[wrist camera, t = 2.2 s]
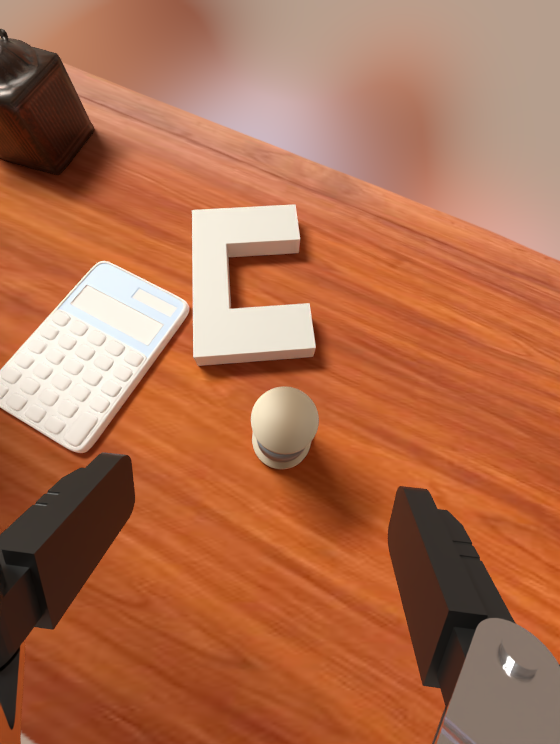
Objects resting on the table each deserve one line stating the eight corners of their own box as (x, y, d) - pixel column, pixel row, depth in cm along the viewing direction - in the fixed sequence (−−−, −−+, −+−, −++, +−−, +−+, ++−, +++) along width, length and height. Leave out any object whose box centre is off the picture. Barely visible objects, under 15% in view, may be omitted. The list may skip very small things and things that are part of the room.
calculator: (-12, 398, 37) (-26, 393, 35) (106, 264, 43) (99, 254, 41) (87, 458, 35) (77, 456, 33) (194, 309, 41) (191, 301, 39)
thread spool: (254, 472, 34) (248, 462, 25) (250, 414, 36) (243, 385, 27) (313, 466, 35) (329, 455, 25) (306, 409, 37) (318, 378, 27)
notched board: (198, 365, 38) (193, 357, 36) (196, 225, 45) (192, 210, 43) (313, 356, 39) (315, 347, 36) (294, 219, 46) (295, 204, 43)
